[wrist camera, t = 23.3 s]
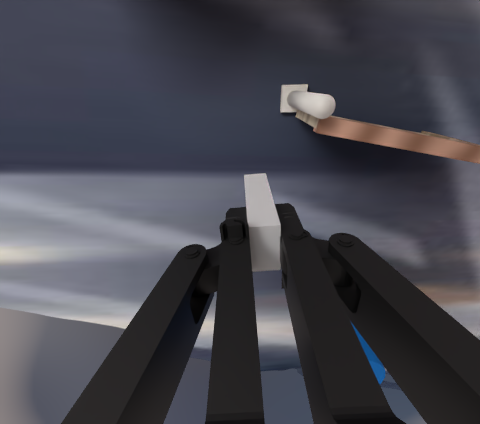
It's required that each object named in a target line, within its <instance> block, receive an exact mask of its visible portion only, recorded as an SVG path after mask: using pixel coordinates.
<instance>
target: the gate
mask: <svg viewBox="0 0 480 424" xmlns="http://www.w3.org/2000/svg"><path fill="white" fill-rule="evenodd" d="M296 117H297V118H299V119H300V120H302V121H304V122H305V123H307V124H309V125H311V126H312V127H314V129H313V131H314V132H316V133H319V134H324V135H330V136H335V137H340V138H346V139H351V140H356V141H362V142H367V143H372V144H377V145H383V146H388V147H393V148H399V149H404V150H409V151H415V152H420V153H425V154H431V155H436V156H441V157H447V158H452V159H457V160H463V161H468V162H473V163H479V164H480V145H478V144H474V143H470V142H466V141H462V140H459V139H455V138H451V137H447V136H443V135H439V134H435V133H431V132H426V131H422V132H421V133H417V132H412V131H407V130H402V129H397V128H392V127H387V126H382V125H376V124H371V123H366V122H361V121H356V120H351V119H346V118H341V117H336V116H331V115H330V116H329V117H328V118H325V119H319V118H317V117H314V116H312V115H310V114H307V113H305V112H303V111H300V110H297V114H296Z"/></svg>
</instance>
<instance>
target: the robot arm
mask: <svg viewBox="0 0 480 424" xmlns="http://www.w3.org/2000/svg"><path fill="white" fill-rule="evenodd" d="M244 182H245V196H246V207H241V208H230V209H229V210H228V211H227V213H226V220H225V221H224V222H222V223H221V225H220V233H221V240H222V243H221V244H219V245H218V246H216V247H214V248H211V249H207V250H206V248H205V247H204V246H202V245H198V244H192V245H189V246H186V247H184V248H182V249H181V250H180V251H179V252H178V254H177V255H176V256H175V258H174V259H173V261H172V262H171V264H170V265H169V267H168V268H167V270H166V271H165V273H164V274H163V275H162V277H161V278H160V280H159V281H158V283H157V284H156V286H155V287H154V289H153V290H152V292H151V293H150V294H149V296H148V297H147V299H146V300H145V302H144V303H143V305H142V306H141V308H140V309H139V311H138V312H137V313H136V315H135V316H134V318H133V319H132V321H131V322H130V324H129V325H128V327H127V328H126V330H125V331H124V333H123V334H122V335H121V337H120V338H119V340H118V341H117V343H116V344H115V346H114V347H113V348H112V350H111V351H110V353H109V355H108V356H107V357H106V359H105V360H104V362H103V363H102V365H101V366H100V368H99V369H98V371H97V372H96V373H95V375H94V376H93V378H92V379H91V381H90V382H89V384H88V385H87V386H86V388H85V390H84V391H83V392H82V394H81V396H80V397H79V398H78V400H77V401H76V403H75V404H74V405H73V407H72V408H71V410H70V411H69V413H68V414H67V416H66V417H65V419H64V420H63V422H62V423H61V424H163V423H164V420H165V418H166V415H167V413H168V410H169V408H170V405H171V402H172V400H173V397H174V395H175V392H176V390H177V387H178V385H179V382H180V380H181V377H182V375H183V372H184V370H185V367H186V364H187V362H188V360H189V357H190V355H191V352H192V349H193V347H194V344H195V342H196V339H197V337H198V334H199V332H200V329H201V327H202V324H203V322H204V319H205V317H206V314H207V312H208V309H209V307H210V304H211V301H212V299H213V296H214V292H216V291H217V300H216V312H215V323H214V334H213V345H212V357H211V368H210V380H209V391H208V402H207V414H206V422H205V424H265V423H264V411H263V398H262V387H261V374H260V361H259V349H258V337H257V324H256V312H255V300H254V287H253V275H252V272H255V271H269V270H281V268H282V288H284V289H285V294H286V299H287V303H288V308H289V312H290V317H291V321H292V326H293V331H294V335H295V340H296V344H297V349H298V353H299V358H300V363H301V367H302V372H303V376H304V381H305V385H306V390H307V394H308V399H309V404H310V408H311V412H312V417H313V421H314V424H406V423H405V422H403V421H402V420H400V419H399V418H397V417H396V416H395V415H394V413H393V412H392V410H391V408H390V406H389V404H388V402H387V400H386V398H385V396H384V393H383V391H382V389H381V387H380V385H379V382H378V380H377V378H376V376H375V374H374V372H373V369H372V367H371V365H370V363H369V361H368V358H367V356H366V354H365V352H364V350H363V348H362V345H361V343H360V341H359V339H358V337H357V335H356V332H355V330H354V328H353V326H352V324H353V325H354V326H355V328H356V329H357V331H358V332H359V333H360V335H361V336H362V337H363V339H364V340H365V341H366V343H367V344H368V345H369V347H370V348H371V349H372V351H373V352H374V353H375V355H376V356H377V357H378V359H379V360H380V361H381V363H382V364H383V365H384V367H385V368H386V369H387V371H388V372H389V373H390V375H391V376H392V377H393V379H394V380H395V381H396V383H397V384H398V385H399V387H400V388H401V389H402V391H403V392H404V393H405V395H406V396H407V397H408V399H409V400H410V401H411V403H412V404H413V405H414V407H415V408H416V409H417V411H418V412H419V414H420V415H421V416H422V418H423V419H424V420H425V422H426V423H427V424H480V340H479V339H478V338H476V337H475V336H474V335H473V334H472V333H470V332H469V331H468V330H467V329H466V328H464V327H463V326H462V325H461V324H460V323H459V322H457V321H456V320H455V319H454V318H453V317H451V316H450V315H449V314H448V313H447V312H445V311H444V310H443V309H442V308H441V307H439V306H438V305H437V304H436V303H435V302H433V301H432V300H431V299H430V298H429V297H428V296H426V295H425V294H424V293H423V292H422V291H420V290H419V289H418V288H417V287H416V286H414V285H413V284H412V283H411V282H410V281H408V280H407V279H406V278H405V277H404V276H402V275H401V274H400V273H399V272H398V271H397V270H395V269H394V268H393V267H392V266H391V265H389V264H388V263H387V262H386V261H385V260H383V259H382V258H381V257H380V256H379V255H377V254H376V253H375V252H374V251H373V250H371V249H370V248H369V247H368V246H367V245H366V244H364V243H363V242H362V241H361V240H360V239H358V238H357V237H355V236H353V235H350V234H347V233H336V234H334V235H332V236H331V237H330V238H329V241H327V240H320V239H315V238H312V237H311V234H310V233H309V232H308V231H306V230H304V229H303V227H302V224H301V222H300V220H299V218H298V215H297V213H296V211H295V208H294V207H293V206H292V205H290V204H289V203H285V204H274V200H273V197H272V194H271V190H270V187H269V183H268V180H267V176H266V173H263V174H250V175H244ZM351 322H352V324H351Z"/></svg>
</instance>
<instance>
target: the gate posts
mask: <svg viewBox="0 0 480 424" xmlns="http://www.w3.org/2000/svg"><path fill="white" fill-rule="evenodd" d="M307 89H308V84H302V85H282V87H281V105H280V112H297V110H300V111H303V112H305V113H307V114H310V115H312V116H314V117H317V118H319V119H325V118H328V117H329V116H330V115H331V114H332V113H333V112H334V110H335V100H334V98H333V97H332V96H330V95H327V94H320V93H312V92H307Z"/></svg>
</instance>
